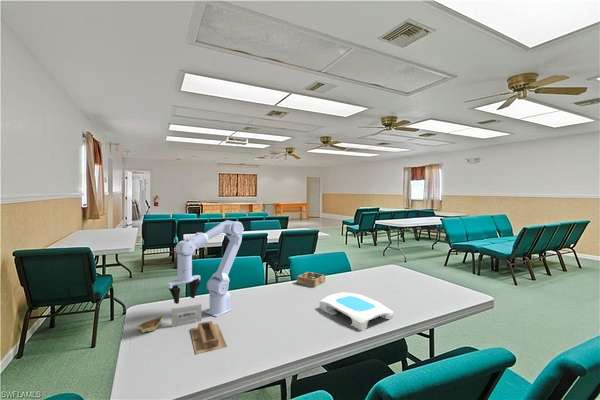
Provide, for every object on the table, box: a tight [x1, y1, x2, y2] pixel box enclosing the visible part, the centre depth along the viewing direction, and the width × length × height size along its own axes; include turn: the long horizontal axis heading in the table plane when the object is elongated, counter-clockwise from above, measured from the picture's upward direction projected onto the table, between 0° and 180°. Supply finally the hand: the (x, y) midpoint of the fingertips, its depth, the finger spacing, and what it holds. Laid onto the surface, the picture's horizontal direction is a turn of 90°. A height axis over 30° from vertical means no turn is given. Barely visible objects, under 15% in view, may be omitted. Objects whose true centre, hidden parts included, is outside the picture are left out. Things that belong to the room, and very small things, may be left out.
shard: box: [136, 315, 164, 334], centre depth 118 cm, size 11×8×2 cm
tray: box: [190, 320, 228, 356], centre depth 109 cm, size 11×20×3 cm, turn 26°
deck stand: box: [296, 271, 326, 288], centre depth 176 cm, size 13×13×5 cm
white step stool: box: [319, 292, 394, 331], centre depth 131 cm, size 21×28×6 cm
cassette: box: [171, 303, 202, 328], centre depth 121 cm, size 12×2×8 cm, turn 117°
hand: (184, 300), depth 120 cm, fingers open, 7 cm apart
